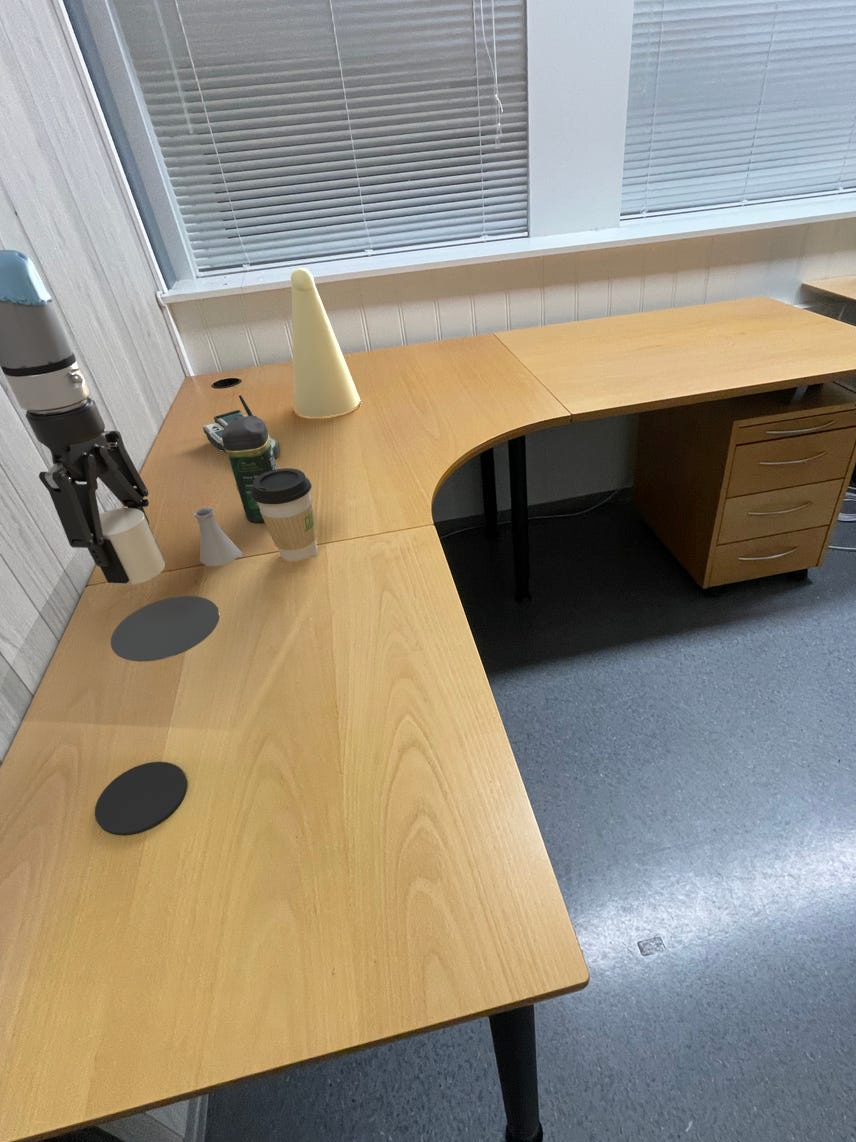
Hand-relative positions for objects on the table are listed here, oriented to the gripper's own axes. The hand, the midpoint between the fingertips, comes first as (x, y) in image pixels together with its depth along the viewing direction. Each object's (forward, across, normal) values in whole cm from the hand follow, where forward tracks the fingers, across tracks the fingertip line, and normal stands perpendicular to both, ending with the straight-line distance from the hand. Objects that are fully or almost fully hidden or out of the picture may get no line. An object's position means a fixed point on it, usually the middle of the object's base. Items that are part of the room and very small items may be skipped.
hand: (134, 564), depth 89 cm
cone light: (+13, +94, +2) cm, 95 cm away
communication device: (+13, +69, +15) cm, 72 cm away
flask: (+13, +20, 0) cm, 24 cm away
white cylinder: (+1, 0, 0) cm, 1 cm away
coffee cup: (+13, +22, -14) cm, 29 cm away
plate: (+13, 0, 0) cm, 13 cm away
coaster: (+13, -30, -12) cm, 35 cm away
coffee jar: (+13, +38, -2) cm, 40 cm away
